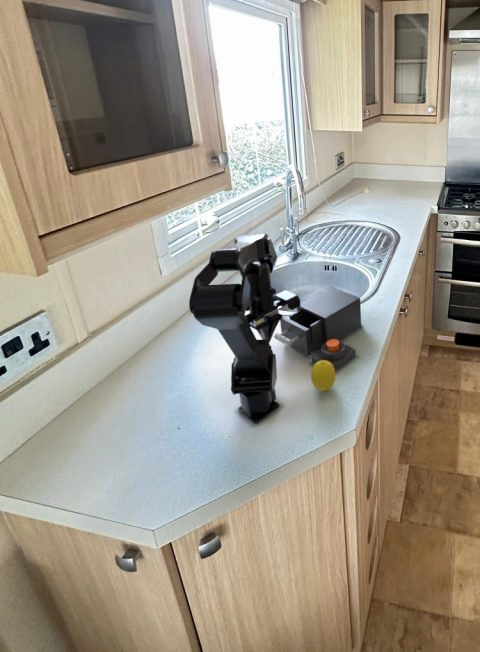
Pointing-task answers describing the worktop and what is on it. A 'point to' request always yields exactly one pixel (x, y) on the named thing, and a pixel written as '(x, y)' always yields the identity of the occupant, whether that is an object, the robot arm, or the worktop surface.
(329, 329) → the air fryer
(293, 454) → the worktop surface
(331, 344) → the button
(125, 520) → the worktop surface
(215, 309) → the robot arm
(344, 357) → the control block
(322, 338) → the basket
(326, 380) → the lemon
